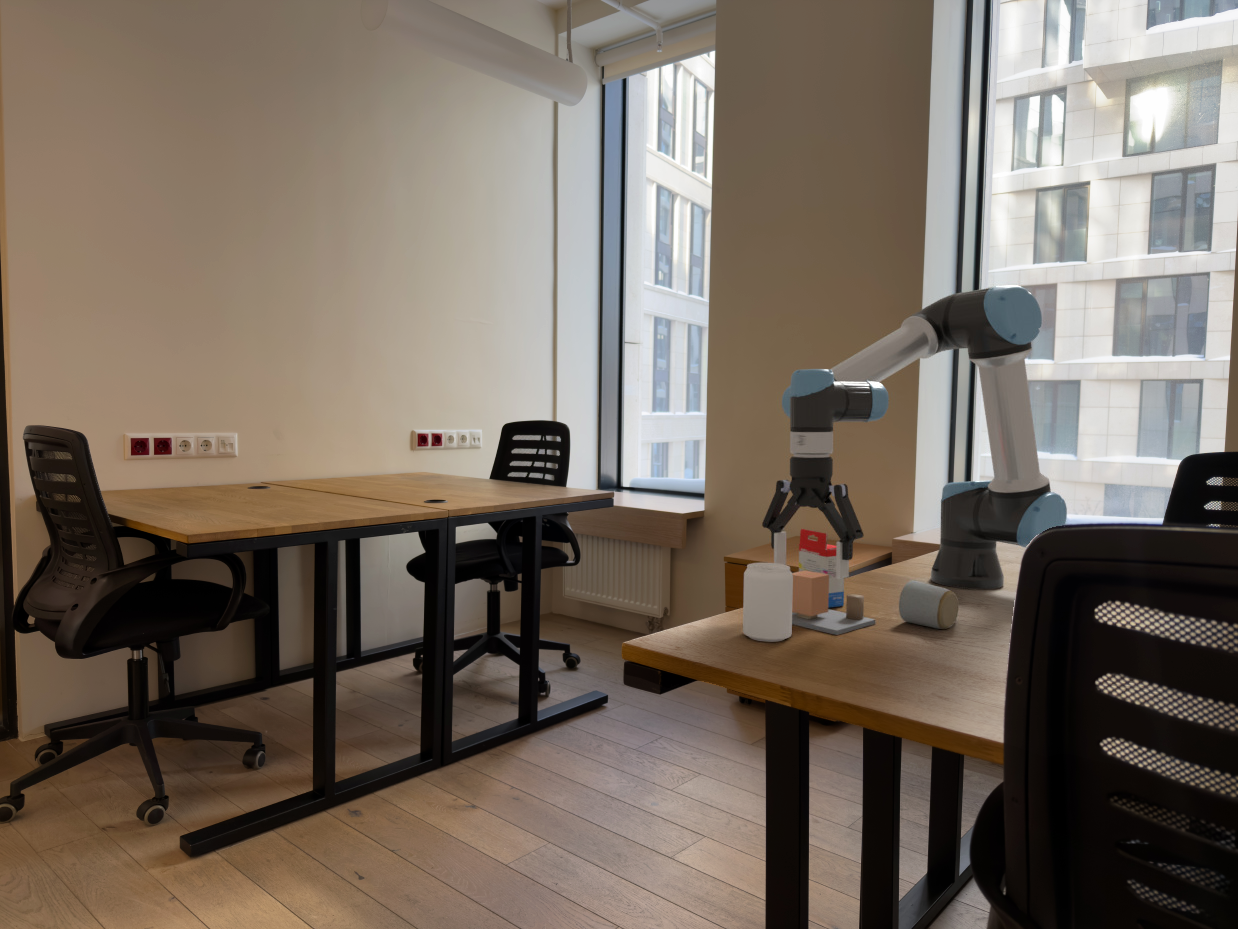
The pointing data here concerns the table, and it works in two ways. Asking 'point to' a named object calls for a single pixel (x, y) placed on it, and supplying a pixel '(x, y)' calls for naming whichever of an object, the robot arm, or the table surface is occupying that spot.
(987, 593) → the table surface
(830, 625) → the slate plate
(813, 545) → the ink box
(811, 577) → the peach foam cube
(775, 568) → the beverage can
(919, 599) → the ceramic mug
